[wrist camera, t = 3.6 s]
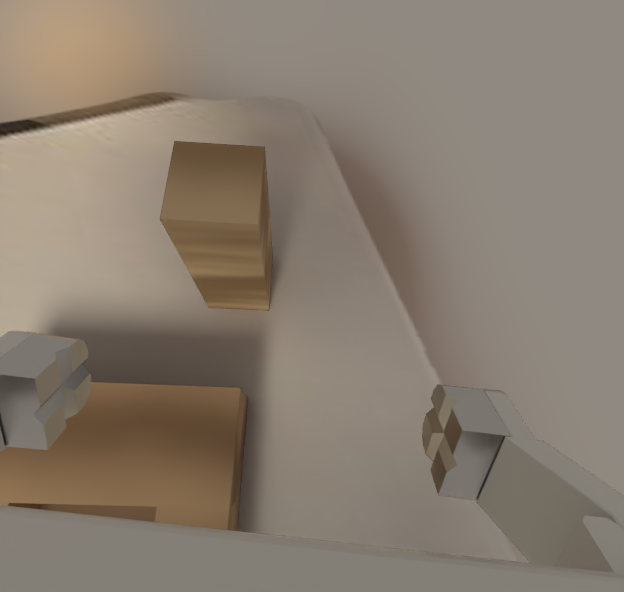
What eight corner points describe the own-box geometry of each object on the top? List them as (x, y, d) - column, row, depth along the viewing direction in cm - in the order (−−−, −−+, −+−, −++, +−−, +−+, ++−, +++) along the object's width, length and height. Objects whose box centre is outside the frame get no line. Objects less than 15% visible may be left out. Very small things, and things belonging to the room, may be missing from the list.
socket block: (215, 791, 17) (194, 889, 13) (-85, 792, 16) (-195, 894, 13) (248, 397, 23) (240, 387, 19) (26, 389, 22) (-27, 377, 18)
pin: (268, 310, 24) (257, 224, 15) (208, 307, 24) (159, 219, 15) (272, 256, 26) (264, 146, 16) (215, 253, 26) (174, 141, 16)
